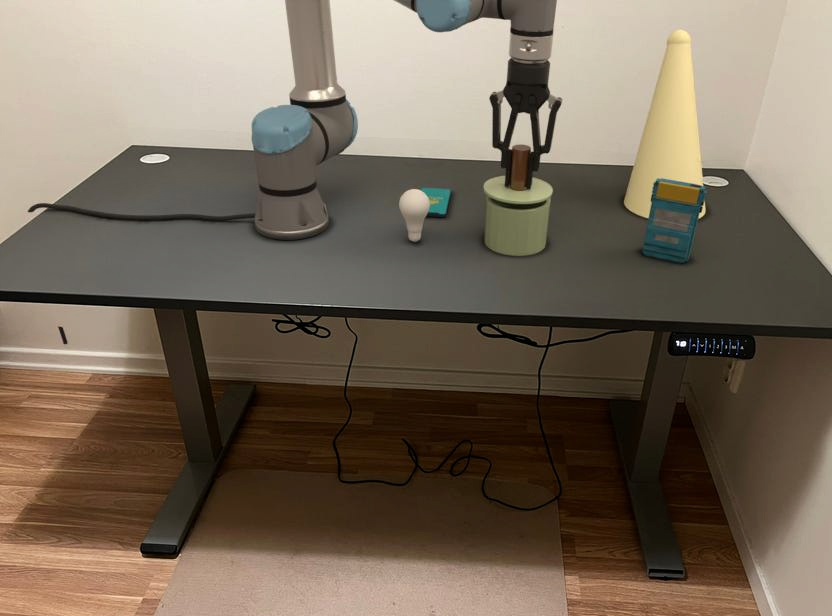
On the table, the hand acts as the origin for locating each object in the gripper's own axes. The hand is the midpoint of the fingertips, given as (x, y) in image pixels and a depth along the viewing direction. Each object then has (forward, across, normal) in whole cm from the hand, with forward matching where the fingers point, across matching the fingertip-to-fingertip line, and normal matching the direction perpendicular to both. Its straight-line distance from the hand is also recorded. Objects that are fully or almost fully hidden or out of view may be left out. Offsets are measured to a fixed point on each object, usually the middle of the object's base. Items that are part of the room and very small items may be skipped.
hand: (518, 185), depth 141 cm
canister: (+12, 0, 0) cm, 12 cm away
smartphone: (+12, -21, +15) cm, 28 cm away
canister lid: (+1, 0, 0) cm, 1 cm away
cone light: (+12, +30, +31) cm, 45 cm away
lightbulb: (+13, -20, -5) cm, 24 cm away
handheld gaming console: (+12, +30, +1) cm, 33 cm away
